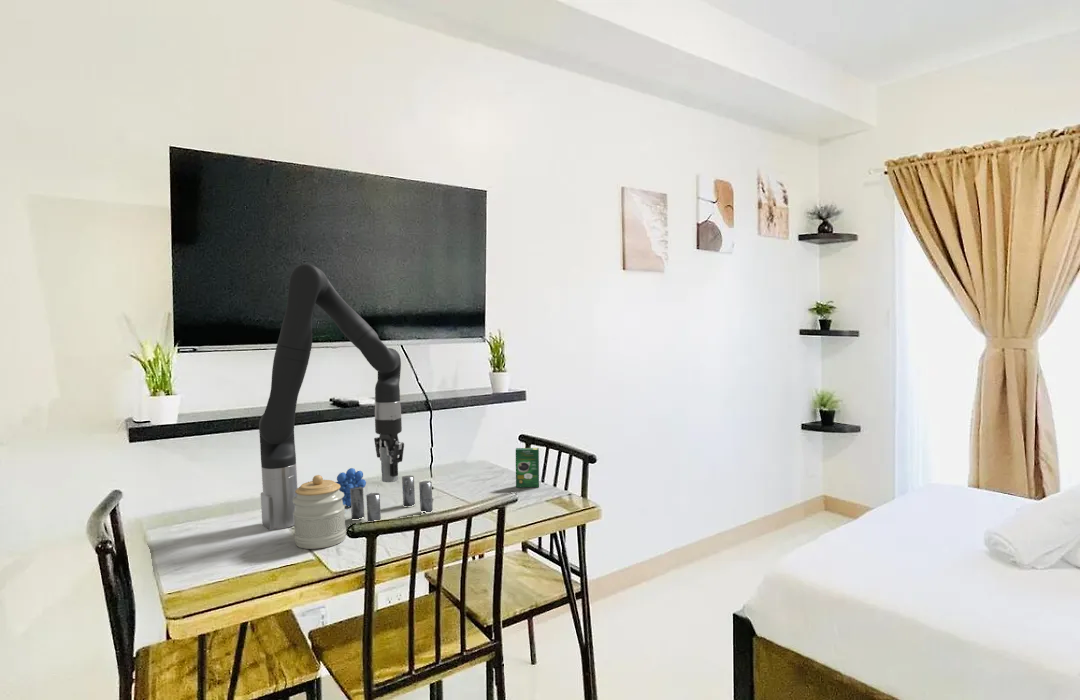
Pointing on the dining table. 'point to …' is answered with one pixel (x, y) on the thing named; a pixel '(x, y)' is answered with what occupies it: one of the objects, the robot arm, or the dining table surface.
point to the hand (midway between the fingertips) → (389, 474)
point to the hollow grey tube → (386, 467)
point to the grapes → (350, 483)
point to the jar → (319, 514)
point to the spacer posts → (374, 499)
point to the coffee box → (527, 467)
